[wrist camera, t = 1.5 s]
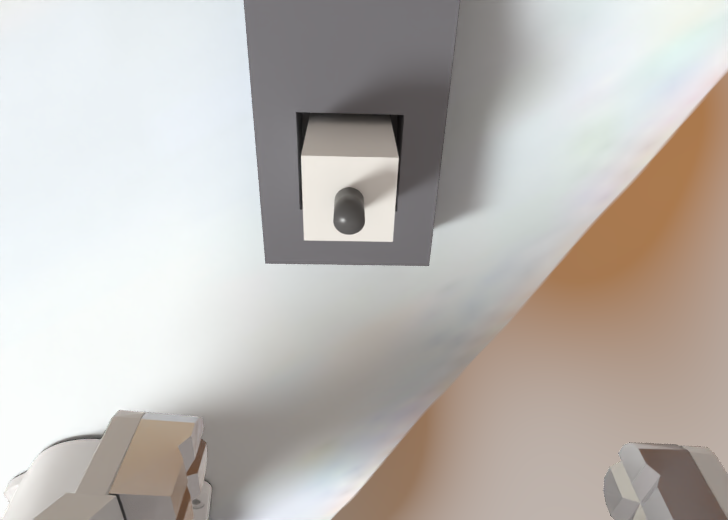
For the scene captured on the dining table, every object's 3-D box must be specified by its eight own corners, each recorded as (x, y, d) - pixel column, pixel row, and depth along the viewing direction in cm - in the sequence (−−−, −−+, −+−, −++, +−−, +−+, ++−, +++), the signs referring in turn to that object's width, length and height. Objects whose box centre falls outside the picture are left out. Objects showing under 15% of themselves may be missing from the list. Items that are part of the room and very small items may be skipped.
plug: (384, 177, 33) (395, 263, 24) (313, 175, 32) (300, 262, 24) (388, 106, 30) (402, 175, 22) (312, 104, 30) (297, 173, 22)
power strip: (421, 233, 35) (430, 271, 32) (273, 231, 35) (264, 268, 31) (471, -248, 23) (496, -285, 19) (239, -260, 22) (215, -300, 18)
